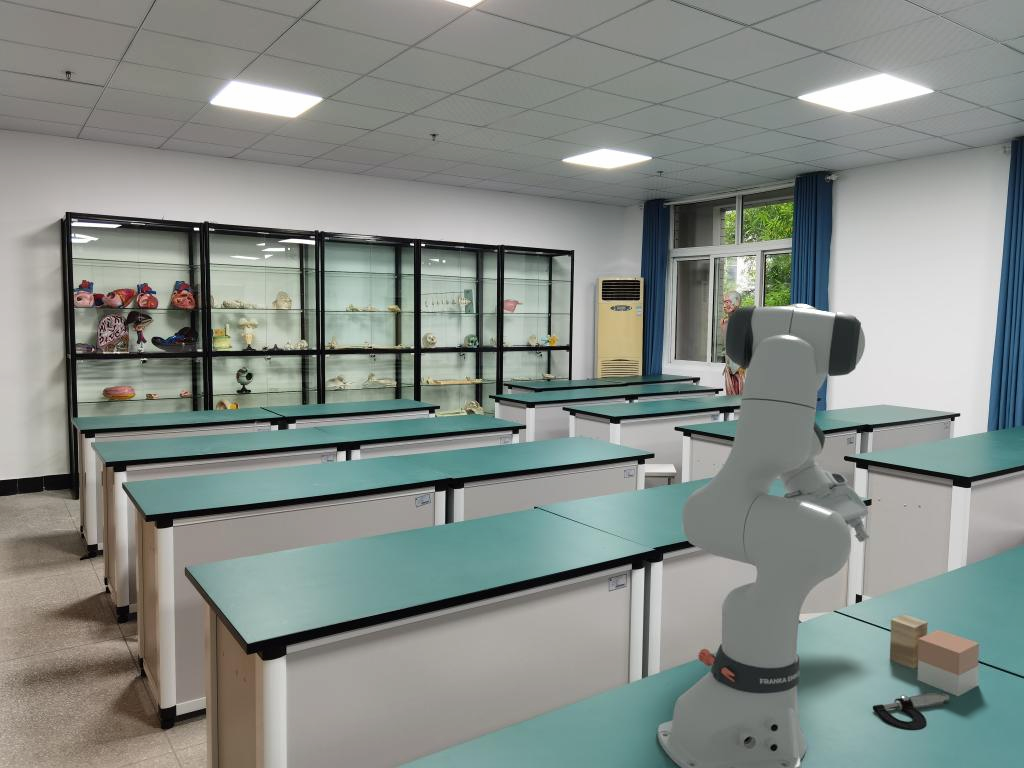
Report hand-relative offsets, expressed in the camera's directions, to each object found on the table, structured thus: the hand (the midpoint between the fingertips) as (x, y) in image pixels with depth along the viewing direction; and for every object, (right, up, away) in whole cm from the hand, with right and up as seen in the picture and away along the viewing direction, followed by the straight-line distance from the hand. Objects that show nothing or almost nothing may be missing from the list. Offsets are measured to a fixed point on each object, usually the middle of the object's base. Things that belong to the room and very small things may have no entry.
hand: (851, 544), depth 147 cm
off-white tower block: (+9, -21, -18) cm, 29 cm away
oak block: (+7, -21, -9) cm, 23 cm away
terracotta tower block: (+9, -17, -18) cm, 26 cm away
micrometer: (-2, -23, -28) cm, 36 cm away
